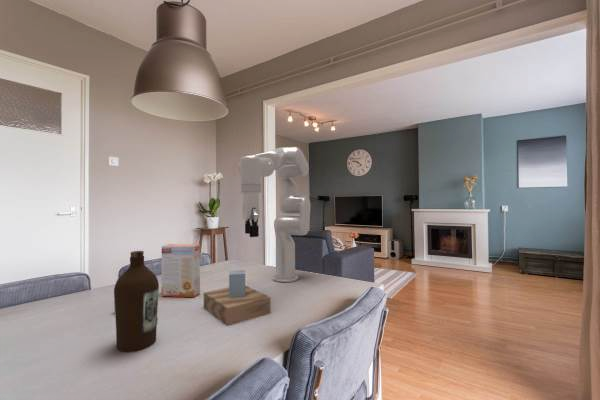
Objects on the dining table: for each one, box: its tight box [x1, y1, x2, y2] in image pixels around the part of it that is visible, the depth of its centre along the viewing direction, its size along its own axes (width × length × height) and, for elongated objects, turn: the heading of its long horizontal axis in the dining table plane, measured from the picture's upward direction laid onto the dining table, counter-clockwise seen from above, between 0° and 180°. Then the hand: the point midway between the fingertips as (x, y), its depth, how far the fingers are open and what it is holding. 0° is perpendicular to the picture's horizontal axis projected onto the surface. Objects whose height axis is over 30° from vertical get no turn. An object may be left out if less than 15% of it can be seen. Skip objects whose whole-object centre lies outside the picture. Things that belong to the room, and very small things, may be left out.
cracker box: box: [161, 243, 201, 298], centre depth 120 cm, size 14×6×21 cm, turn 84°
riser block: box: [203, 285, 271, 326], centre depth 103 cm, size 20×16×6 cm
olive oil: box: [113, 250, 160, 353], centre depth 79 cm, size 11×11×25 cm
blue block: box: [228, 269, 246, 298], centre depth 103 cm, size 6×6×8 cm
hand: (251, 235), depth 108 cm, fingers open, 9 cm apart
